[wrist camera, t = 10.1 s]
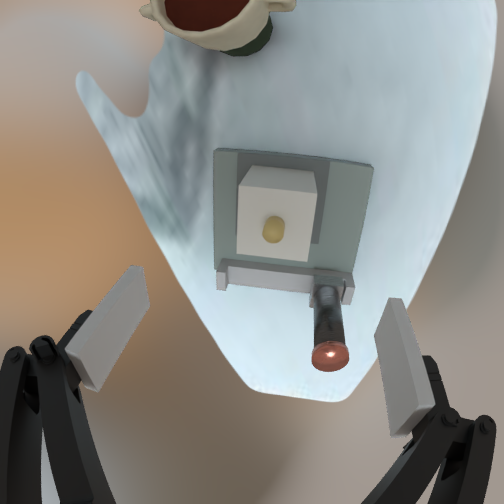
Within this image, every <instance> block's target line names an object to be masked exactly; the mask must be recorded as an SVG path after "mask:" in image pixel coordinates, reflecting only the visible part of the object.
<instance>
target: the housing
mask: <svg viewBox="0 0 504 504" xmlns="http://www.w3.org/2000/svg"><path fill="white" fill-rule="evenodd" d="M316 201H317V188H316V182H315V177H314V172H313V171H305V170H296V169H287V168H277V167H267V166H256V165H252V166H251V168H250V169H249V171H248V172H247V174H246V175H245V177H244V178H243V180H242V181H241V183H240V184H239V190H238V220H237V253H236V254H244V255H253V256H261V257H270V258H278V259H286V260H295V261H303V262H307V260H308V254H309V248H310V241H311V235H312V229H313V222H314V215H315V208H316Z"/></svg>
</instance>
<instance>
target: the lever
mask: <svg viewBox="0 0 504 504" xmlns="http://www.w3.org/2000/svg"><path fill="white" fill-rule="evenodd" d="M343 289H344V283H343V277H337V276H327V275H318V274H314V276H313V281H312V286H311V291H310V296H309V307H311V308H314V349H313V351H312V364H313V366H314V367H315V368H316V369H318V370H320V371H324V372H332V371H337V370H340V369H342V368H343V367H345V366H346V365H347V363H348V362H349V352H348V348H347V346H346V345H345V336H344V328H343V319H342V311H341V304H340V300H341V297H342V293H343Z"/></svg>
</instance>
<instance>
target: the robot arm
mask: <svg viewBox="0 0 504 504" xmlns="http://www.w3.org/2000/svg"><path fill="white" fill-rule="evenodd" d="M149 307H150V303H149V298H148V292H147V287H146V282H145V275H144V269H143V267H140V266H134V265H131V266H130V267H129V268H128V269H127V271H126V272H125V273H124V274H123V275H122V276H121V278H120V279H119V280H118V281H117V282H116V284H115V285H114V286H113V287H112V288H111V290H110V291H109V292H108V293H107V295H106V296H105V297H104V299H102V301H101V302H100V303H99V305H98V306H97V307H96V308H95V310H94V311H91V310H87V311H85V312H84V313H82V314H81V315H80V316H79V317H78V318H77V319H76V321H75V322H74V324H72V326H71V327H70V329H68V331H67V332H66V333H65V335H64V336H63V337H62V339H61V340H60V341H59V342H58V344H57V345H55V342H54V340H53V339H52V338H51V337H50V336H46V335H44V336H40V337H37V338H36V339H35V340H33V341H32V343H31V344H30V348H29V350H30V351H31V353H32V355H31V354H27V353H26V352H25V350H24V349H23V348H22V347H20V346H16V347H12V348H11V349H9V350H8V351H7V353H6V354H5V357H4V360H3V363H2V367H1V370H0V504H42V497H41V445H42V429H43V430H44V437H45V442H46V447H47V452H48V457H49V462H50V466H51V470H52V474H53V478H54V481H55V485H56V489H57V492H58V496H59V499H60V504H116V502H115V499H114V497H113V495H112V492H111V490H110V487H109V485H108V482H107V480H106V477H105V474H104V472H103V469H102V466H101V463H100V460H99V457H98V455H97V451H96V448H95V445H94V442H93V438H92V435H91V431H90V428H89V424H88V420H87V416H86V413H85V409H84V405H83V400H82V396H81V391H80V388H79V386H78V385H79V383H80V381H81V380H82V382H83V384H84V386H85V387H86V388H88V389H91V390H93V391H96V392H99V390H100V389H101V387H102V385H103V383H104V381H105V380H106V378H107V376H108V375H109V373H110V371H111V369H112V368H113V366H114V364H115V363H116V361H117V359H118V357H119V356H120V354H121V352H122V351H123V349H124V347H125V346H126V344H127V342H128V341H129V339H130V337H131V336H132V334H133V332H134V331H135V329H136V328H137V326H138V324H139V323H140V321H141V319H142V318H143V316H144V315H145V313H146V312H147V310H148V308H149ZM374 338H375V343H376V348H377V353H378V358H379V363H380V369H381V374H382V380H383V386H384V392H385V398H386V405H387V412H388V420H389V428H390V436H391V438H399V437H406V436H407V435H408V434H409V433H410V432H411V431H412V435H413V438H412V439H411V440H410V441H409V442H408V443H407V444H406V445H405V446H404V447H403V448H404V450H403V452H402V453H401V455H400V456H399V457H398V459H397V460H396V461H395V463H394V464H393V465H392V467H391V468H390V469H389V471H388V472H387V473H386V475H385V476H384V477H383V478H382V480H381V481H380V482H379V483H378V484H377V486H376V487H375V488H374V489H373V490H372V492H371V493H370V494H369V495H368V496H367V497H366V498H365V500H364V501H363V502H362V503H361V504H416V502H417V501H418V499H419V498H420V497H421V495H422V493H423V492H424V491H425V489H426V487H427V486H428V484H429V483H430V481H431V479H432V478H433V476H434V474H435V473H436V471H437V469H438V468H439V466H440V469H439V472H438V475H437V478H436V481H435V484H434V487H433V490H432V493H431V496H430V498H429V501H428V504H483V502H484V498H485V494H486V489H487V486H488V481H489V476H490V471H491V465H492V460H493V453H494V446H495V438H496V424H495V422H494V420H493V419H492V418H491V417H490V416H488V415H481V416H479V417H478V418H477V419H476V420H475V421H474V420H469V419H465V418H461V417H460V415H459V413H458V412H457V411H456V410H455V409H453V408H451V407H450V406H449V402H448V399H447V395H446V392H445V389H444V385H443V382H442V381H441V380H442V379H441V376H440V374H439V370H438V366H437V363H436V362H435V361H434V360H433V358H432V357H431V356H422V355H421V352H420V349H419V346H418V343H417V340H416V337H415V334H414V331H413V328H412V325H411V322H410V319H409V317H408V314H407V311H406V309H405V306H404V303H403V301H402V299H400V298H389V299H388V301H387V304H386V307H385V309H384V312H383V314H382V317H381V319H380V322H379V324H378V327H377V329H376V332H375V334H374ZM440 464H441V465H440Z"/></svg>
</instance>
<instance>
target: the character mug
mask: <svg viewBox="0 0 504 504" xmlns="http://www.w3.org/2000/svg"><path fill="white" fill-rule="evenodd" d="M150 3H151V4H147V5H144V6H142V7H141V9H140V10H139V11H140V13H141V15H142V16H143V17H146V18H148V19H151V20H153V21H157V22H158V23H159V24H160V25H161V27H162V28H163V29H164V30H166V31H168V32H170V33H172V34H174V35H176V36H178V37H181V38H183V39H185V40H187V41H190V42H192V43H194V44H196V45H199V46H201V47H203V48H205V49H213V50H219V51H221V52H223V53H226V54H228V55H231V56H248V55H250V54H253V53H255V52H257V51H259V50H261V49H262V47H263V46H264V45H265V44H266V43H267V42H268V41H269V39H270V36H271V32H272V29H273V26H272V22H271V18H270V16H269V13H270V12H289V11H293V10H294V9H295V7H296V0H150Z"/></svg>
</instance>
